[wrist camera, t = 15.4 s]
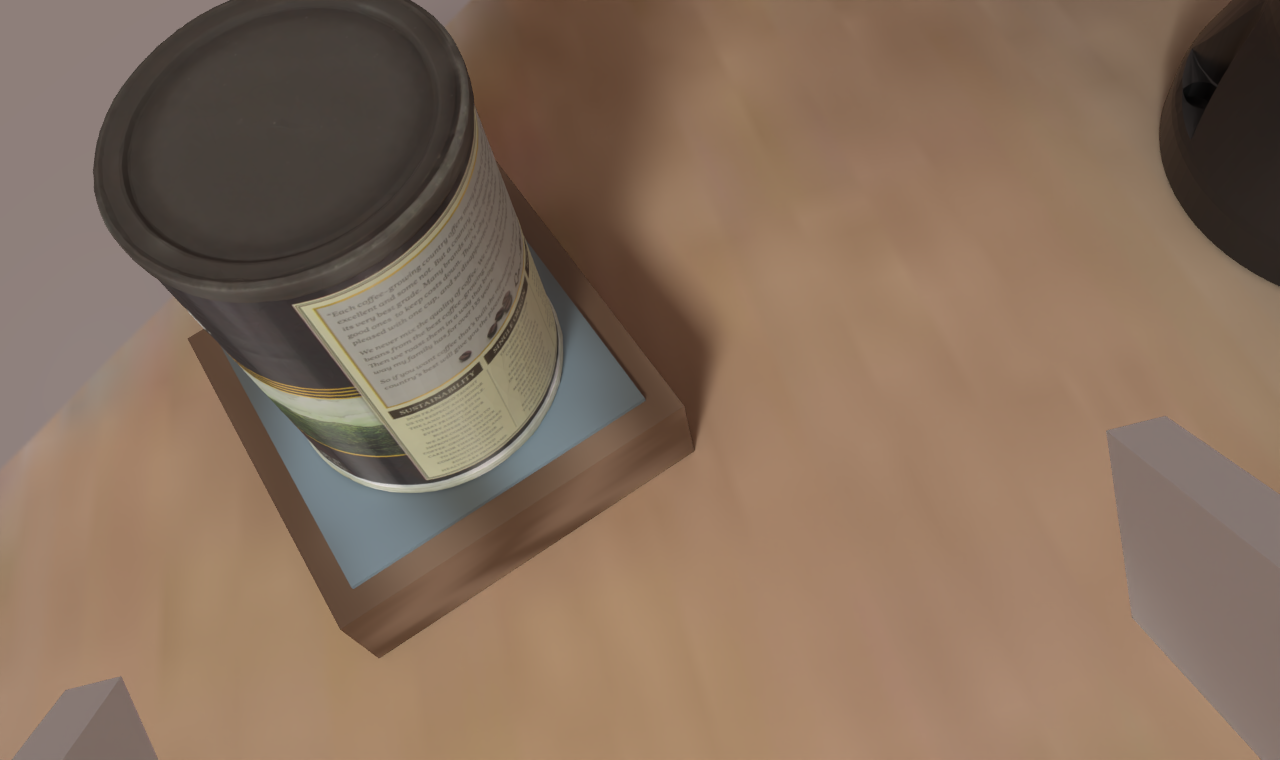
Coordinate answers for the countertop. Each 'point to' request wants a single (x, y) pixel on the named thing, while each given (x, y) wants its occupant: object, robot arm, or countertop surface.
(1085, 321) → the countertop surface
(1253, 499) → the robot arm
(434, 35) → the coffee can
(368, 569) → the walnut tray
